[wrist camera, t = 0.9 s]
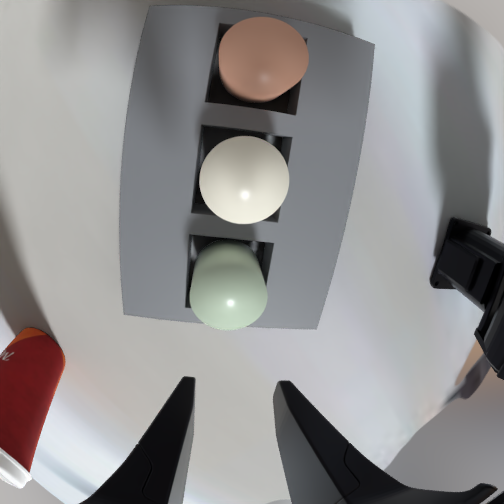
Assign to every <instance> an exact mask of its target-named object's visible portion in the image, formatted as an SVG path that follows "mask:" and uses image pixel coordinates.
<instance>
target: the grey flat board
mask: <svg viewBox="0 0 504 504" xmlns="http://www.w3.org/2000/svg"><path fill="white" fill-rule="evenodd" d="M253 17H270V18H274V19H278V20H281V21H283V22H285V23H287V24H289V25H290V26H292V27H293V28H294V29H295V30H296V31H297V32H298V33H299V34H300V35H301V36H302V38H303V39H304V41H305V43H306V46H307V49H308V53H309V63H308V67H307V70H306V72H305V74H304V76H303V77H302V78H301V80H300V81H299V82H298V83H297V84H295V85H294V86H293V87H291V89H290V96H289V102H288V108H287V114H285V113H279V112H274V111H268V110H262V109H256V108H249V107H242V106H234V105H226V104H217V103H208V98H209V92H210V86H211V80H212V74H213V68H214V63H215V58H216V52H217V47H218V42H219V37H220V38H223V36H224V35H225V33H226V32H227V31H228V30H229V29H230V28H231V27H232V26H233V25H235V24H237V23H238V22H240V21H242V20H245V19H248V18H253ZM374 47H375V44H373V43H370V42H368V41H365V40H362V39H360V38H357V37H354V36H351V35H348V34H345V33H342V32H339V31H336V30H333V29H330V28H327V27H323V26H320V25H316V24H312V23H309V22H305V21H301V20H297V19H292V18H288V17H283V16H278V15H273V14H268V13H262V12H256V11H249V10H242V9H233V8H224V7H212V6H193V5H157V6H150V7H149V10H148V14H147V17H146V21H145V25H144V28H143V32H142V36H141V40H140V45H139V49H138V53H137V58H136V63H135V68H134V73H133V78H132V84H131V90H130V96H129V103H128V109H127V117H126V125H125V133H124V143H123V154H122V167H121V184H120V217H119V237H120V270H121V287H122V301H123V312H124V315H131V316H138V317H146V318H154V319H162V320H171V321H181V322H191V323H201V324H205V323H203V322H202V321H201V320H200V319H199V318H198V317H197V316H196V315H195V313H194V312H193V310H192V307H191V305H190V289H191V288H188V287H189V270H190V255H191V242H192V235H202V236H212V237H222V238H231V239H241V240H251V241H260V242H265V248H264V254H263V259H262V265H261V272H262V275H263V279H264V282H265V285H266V289H267V295H268V298H267V304H266V307H265V309H264V311H263V313H262V314H261V316H260V317H259V318H258V319H257V320H256V321H254V322H253V323H252V324H250V325H248V326H246V327H258V328H281V329H317V326H318V323H319V320H320V317H321V314H322V310H323V307H324V304H325V300H326V297H327V294H328V290H329V287H330V283H331V280H332V276H333V273H334V269H335V265H336V262H337V258H338V254H339V250H340V246H341V242H342V238H343V234H344V230H345V226H346V222H347V217H348V213H349V209H350V204H351V199H352V195H353V190H354V185H355V180H356V175H357V170H358V165H359V159H360V154H361V148H362V142H363V136H364V130H365V124H366V117H367V110H368V103H369V95H370V87H371V78H372V69H373V59H374ZM204 127H214V128H223V129H231V130H239V131H246V132H253V133H260V134H267V135H273V136H279V137H283V140H282V146H281V152H280V153H281V155H282V156H283V158H284V160H285V162H286V164H287V167H288V171H289V188H288V192H287V195H286V197H285V199H284V201H283V203H282V204H281V206H280V207H279V208H278V209H277V210H276V211H275V212H274V213H273V214H272V215H270V216H269V217H267V218H266V219H264V220H261V221H259V222H256V223H251V224H237V223H232V222H229V221H226V220H224V219H222V218H220V217H219V216H217V215H216V214H215V213H213V212H212V210H211V209H210V208H209V207H208V206H207V204H197V203H195V197H196V188H197V178H198V170H199V161H200V153H201V146H202V138H203V131H204Z"/></svg>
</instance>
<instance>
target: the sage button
mask: <svg viewBox="0 0 504 504" xmlns="http://www.w3.org/2000/svg"><path fill="white" fill-rule="evenodd" d="M267 298H268V295H267V289H266V285H265V282H264V279H263V275H262V272H261V269H260V265H259V262H258V259H257V257H256V255H255V253H254V252H253V250H252V249H251V248H250V247H248V246H247V245H246V244H244V243H242V242H240V241H237V240H232V239H222V240H217V241H215V242H212V243H210V244H209V245H207V246H206V247H205V248H203V249H202V251H201V252H200V253H199V255H198V257H197V259H196V262H195V267H194V272H193V278H192V284H191V289H190V305H191V307H192V310H193V312H194V313H195V315H196V316H197V317H198V318H199V319H200V320H201V321H202V322H203V323H205V324H206V325H208V326H210V327H213V328H216V329H220V330H236V329H240V328H244V327H246V326H248V325H250V324H252V323H253V322H254V321H256V320H257V319H258V318H259V317H260V316H261V314H262V313H263V311H264V309H265V307H266V304H267Z"/></svg>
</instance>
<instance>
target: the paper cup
mask: <svg viewBox="0 0 504 504" xmlns="http://www.w3.org/2000/svg"><path fill="white" fill-rule="evenodd" d="M64 367H65V356H64V354H63V352H62V350H61V348H60V347H59V345H58V344H57V343H56V342H55V341H54V340H53V339H52V338H51V337H50V336H49V335H47V334H46V333H44V332H43V331H41V330H39V329H36V328H25V329H24V330H23V331H21V332H20V333H19V334H18V335H17V336H16V338H15V339H14V340H13V341H12V342H11V343H10V344H9V345H8V346H7V348H6V349H5V350H4V351H3V352H2V353H1V355H0V479H1V480H3V481H5V482H6V483H8V484H10V485H13V486H15V487H17V488H22V487H24V486H25V484H26V482H27V481H30V480H31V479H32V476H31V475H30V473H29V472H30V469H31V465H32V461H33V457H34V454H35V450H36V447H37V443H38V440H39V437H40V434H41V431H42V428H43V425H44V422H45V419H46V416H47V413H48V410H49V407H50V404H51V402H52V399H53V396H54V394H55V391H56V388H57V386H58V383H59V381H60V378H61V375H62V373H63V370H64Z"/></svg>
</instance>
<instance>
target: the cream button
mask: <svg viewBox="0 0 504 504" xmlns="http://www.w3.org/2000/svg"><path fill="white" fill-rule="evenodd" d="M199 184H200V190H201V194H202V197H203V199H204V201H205V203H206V204H207V206H208V207H209V208H210V209H211V210H212V212H213V213H215V214H216V215H217V216H219V217H220V218H222V219H224V220H226V221H229V222H232V223H237V224H251V223H256V222H259V221H261V220H264V219H266V218H267V217H269V216H270V215H272V214H273V213H274V212H275V211H276V210H277V209H278V208H279V207H280V206H281V204H282V203H283V201H284V199H285V197H286V195H287V192H288V188H289V171H288V167H287V164H286V162H285V160H284V158H283V156H282V155H281V153H280V152H279V151H278V150H277V149H276V148H275V147H274V146H273V145H271V144H270V143H268V142H267V141H265V140H262V139H260V138H257V137H252V136H238V137H233V138H230V139H227V140H224V141H222V142H221V143H219V144H218V145H217V146H215V147H214V148H213V149H212V150H211V152H210V153H209V154H208V155H207V157H206V158H205V160H204V162H203V164H202V167H201V171H200V178H199Z"/></svg>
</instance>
